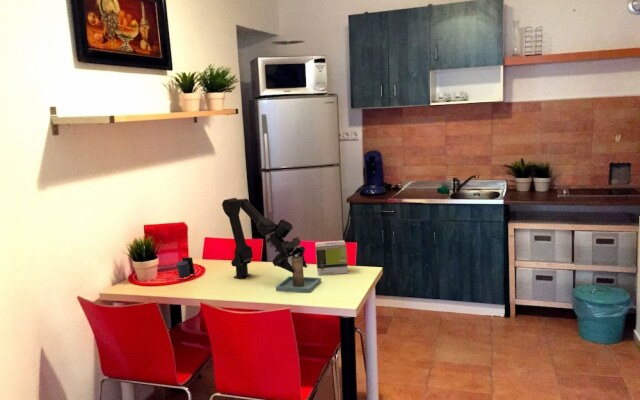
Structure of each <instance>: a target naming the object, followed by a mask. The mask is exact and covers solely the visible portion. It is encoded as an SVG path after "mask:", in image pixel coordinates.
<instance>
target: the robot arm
mask: <svg viewBox="0 0 640 400" xmlns="http://www.w3.org/2000/svg"><path fill="white" fill-rule="evenodd" d="M221 206H222V209H223V212H224V214H225V215H226V216H227V217H228V219H229V224H230V229H231V233H232V236H233V239H234V242H235V248H234V258H233V259H232V260H231V262H230V263H231V266H232V267H235V272H236V273H235V274H236V275H234V276H233V278H234V279H247V278H249V277H250V276H251V275H252V274H251V273H249V270H248V265H249V264H251V262H252V260H253V257H254V256H253V255H254V252H253V250H252V246H251V245H248V244H247V242H246V239H245V235H244V231H243V226H242V223H241V219H240V213H241V210H242V211H243V212H245V214H246V215H247V216H248V217H249V218H250V219H251V220H252V221H253V222H254V223H255V224H256V229H257V230H258V232H259V233H260V234H261V235H262V236H267V237H266V241H265V243H266V244H269V243H271V245H272V246H273V247H274V249H275V250H274V251H275V252H276V253H278V254H276V255H275V257H274V258H273V260H272V265H274V267H277V268H278V267H279V268H281V269H284V270H286V271H288V272H290V273H291V274H292V273H294V272H295V271H294V269H293V268H292V266H291V265H290V263H289V262H288V258H289V257H292V256H293V257H297V256H300V257H302V259H303V268H305V269H306V268H307V267H308V265H307V262H306V259H305V255H304V254H305V252H306V248H305V247H304V246H303V245H301V240H300V237H298V236H297V237H294V238H292V240H285V239H286V238H287V236H288V235H289V234H290V232H291V231H292V230H293V228H294V227H293V225H292V223H290V222H289V221H287V220H285V219H280V220H279V222H278V223H277V224H276V223H275V221H272V220H271V219H270V218H267V217H265V216H264V215H262V213H261V212H260V211H259V210H258V209H257V208H256V207H255V206H254V205H253V204H252V203H251V202H250V200H249V199H248V198H239V199H238V198H236V197H232V198H227V199H224V200H223V201H222V203H221ZM284 238H285V239H284ZM296 246H299V247H297V248H296V249H295V247H296ZM294 249H295V250H294ZM293 250H294V251H293Z"/></svg>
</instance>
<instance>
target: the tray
mask: <svg viewBox="0 0 640 400" xmlns="http://www.w3.org/2000/svg"><path fill="white" fill-rule="evenodd" d="M320 282H321V283H322V277H311V276H304V286H302V287H294V286H293V275H291V276H290V275H288V276H287V278H284V280H282V281H281V282H280V283H278V284H277V285H276V286H275V291H276V292H285V293H286V292H287V293H288V292H290V293H301V294H303V293H305V294H310V293H311V292H312V291H313V290H314V289H315V288H316V287H318V285H320Z"/></svg>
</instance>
